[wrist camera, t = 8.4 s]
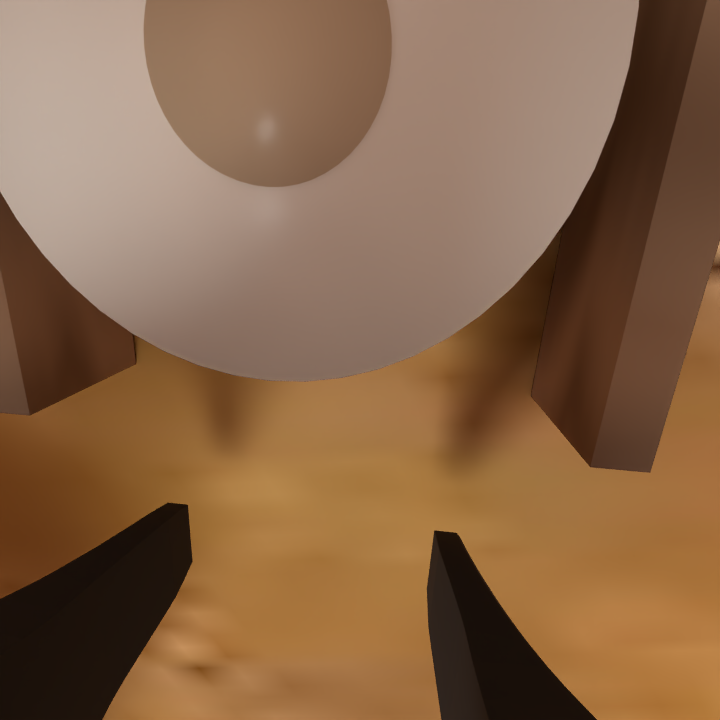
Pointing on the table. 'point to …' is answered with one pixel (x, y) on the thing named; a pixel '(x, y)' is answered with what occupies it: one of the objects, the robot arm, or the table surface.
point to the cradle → (571, 277)
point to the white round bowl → (302, 163)
